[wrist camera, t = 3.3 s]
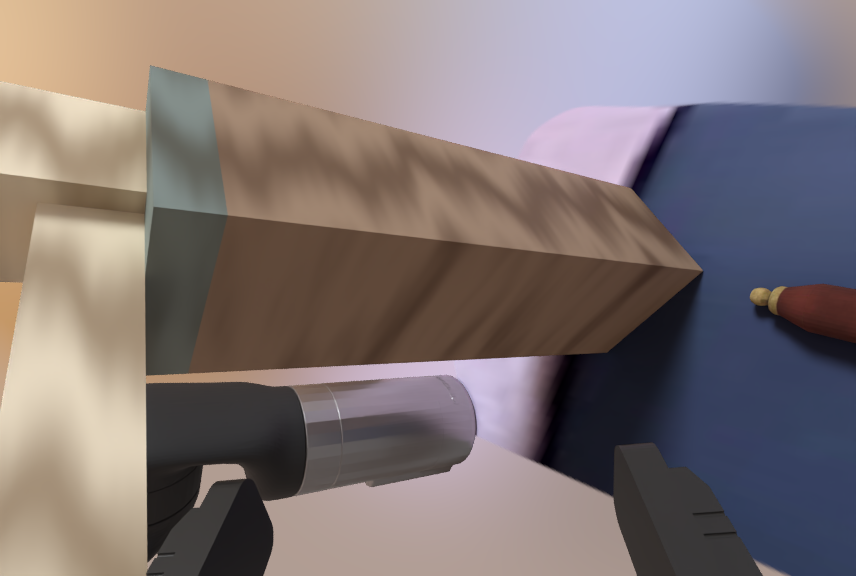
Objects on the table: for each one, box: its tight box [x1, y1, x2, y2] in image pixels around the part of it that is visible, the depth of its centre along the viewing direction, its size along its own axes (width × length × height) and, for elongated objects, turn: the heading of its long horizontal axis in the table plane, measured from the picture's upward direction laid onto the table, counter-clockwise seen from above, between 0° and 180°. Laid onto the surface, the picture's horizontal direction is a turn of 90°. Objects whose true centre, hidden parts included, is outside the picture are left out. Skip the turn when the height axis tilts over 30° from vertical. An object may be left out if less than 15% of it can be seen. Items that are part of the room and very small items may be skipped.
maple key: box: [0, 81, 147, 576], centre depth 15 cm, size 17×5×5 cm, turn 37°
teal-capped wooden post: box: [144, 66, 703, 376], centre depth 27 cm, size 8×9×30 cm
